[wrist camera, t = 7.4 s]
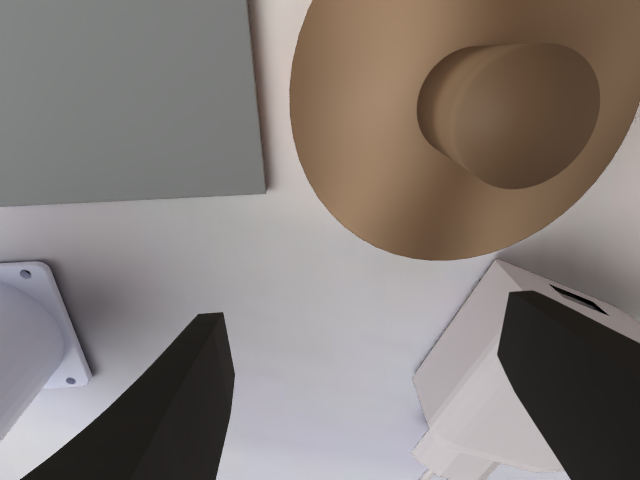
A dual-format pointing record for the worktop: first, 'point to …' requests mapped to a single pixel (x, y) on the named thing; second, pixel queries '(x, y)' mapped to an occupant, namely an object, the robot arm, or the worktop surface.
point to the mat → (127, 101)
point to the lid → (460, 115)
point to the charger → (488, 383)
